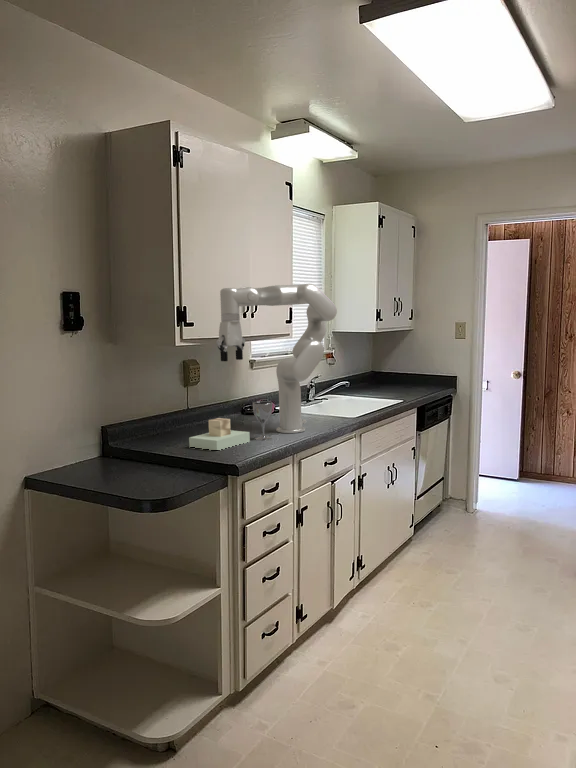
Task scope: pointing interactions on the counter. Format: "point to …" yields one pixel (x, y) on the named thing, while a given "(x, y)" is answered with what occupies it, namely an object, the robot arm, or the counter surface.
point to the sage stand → (219, 440)
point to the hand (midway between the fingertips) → (231, 360)
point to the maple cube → (219, 427)
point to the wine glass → (262, 415)
